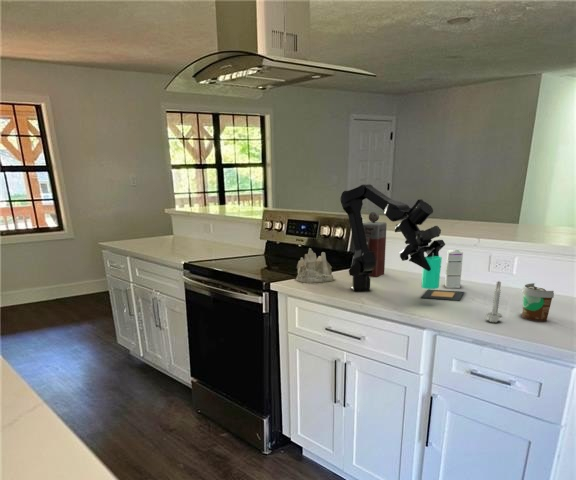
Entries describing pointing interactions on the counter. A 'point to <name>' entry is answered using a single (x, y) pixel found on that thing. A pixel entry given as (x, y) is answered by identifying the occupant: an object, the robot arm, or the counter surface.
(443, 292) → the mat
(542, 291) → the food container
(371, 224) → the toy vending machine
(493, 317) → the screw
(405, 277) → the counter surface
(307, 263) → the sand castle
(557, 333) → the counter surface
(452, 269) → the grey tower
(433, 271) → the candle
